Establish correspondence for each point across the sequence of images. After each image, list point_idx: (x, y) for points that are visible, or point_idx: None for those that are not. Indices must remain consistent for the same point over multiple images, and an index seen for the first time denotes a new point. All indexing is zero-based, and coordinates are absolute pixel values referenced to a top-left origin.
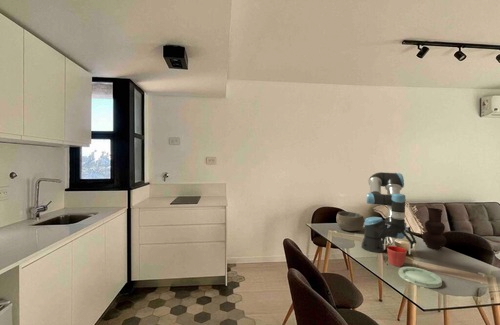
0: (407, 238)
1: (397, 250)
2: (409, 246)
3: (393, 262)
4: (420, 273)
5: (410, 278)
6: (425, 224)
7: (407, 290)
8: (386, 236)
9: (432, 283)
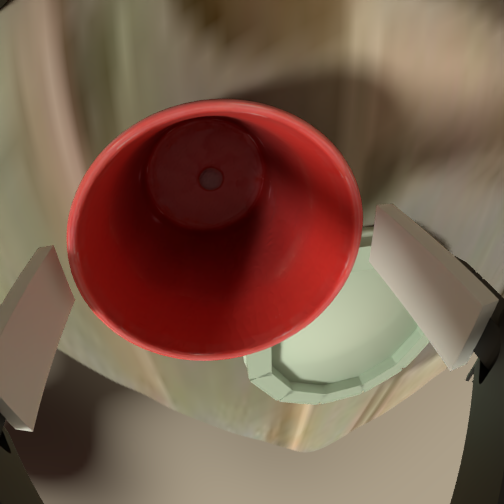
0: (473, 455)
1: (217, 115)
2: (429, 333)
3: (189, 248)
4: (373, 284)
5: (301, 401)
6: None
7: (278, 429)
8: (31, 491)
9: (385, 378)
